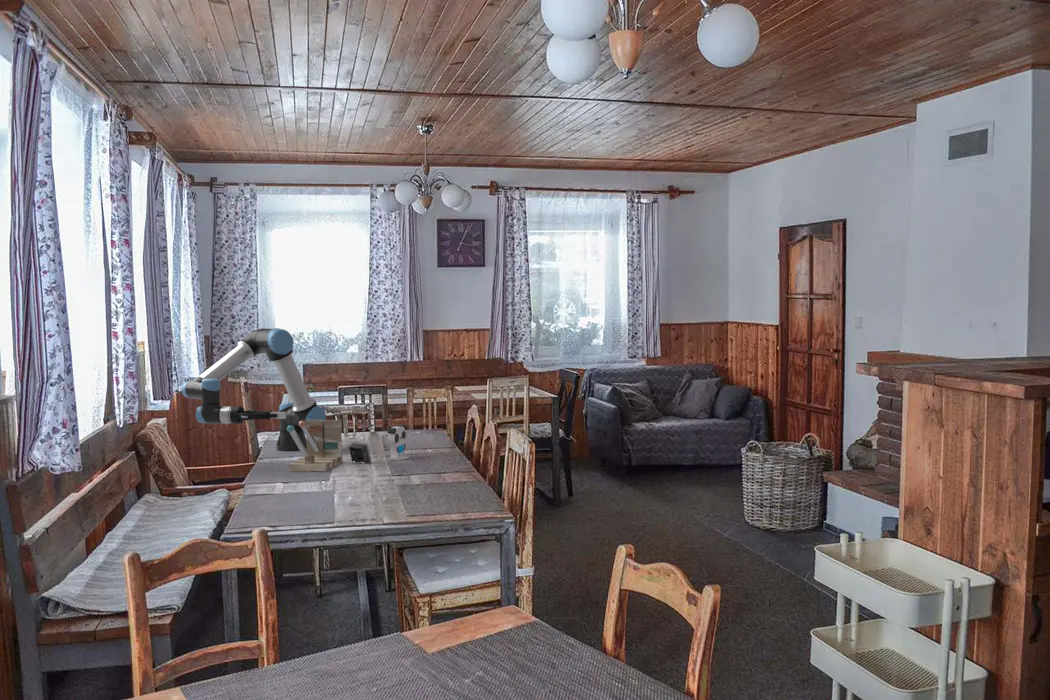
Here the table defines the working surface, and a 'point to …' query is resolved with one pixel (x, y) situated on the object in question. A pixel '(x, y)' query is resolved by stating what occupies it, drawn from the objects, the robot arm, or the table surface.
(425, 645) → the table surface
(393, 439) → the panda figurine
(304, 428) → the terracotta lever
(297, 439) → the teal lever
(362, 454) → the electrical switch
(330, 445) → the switch unit
